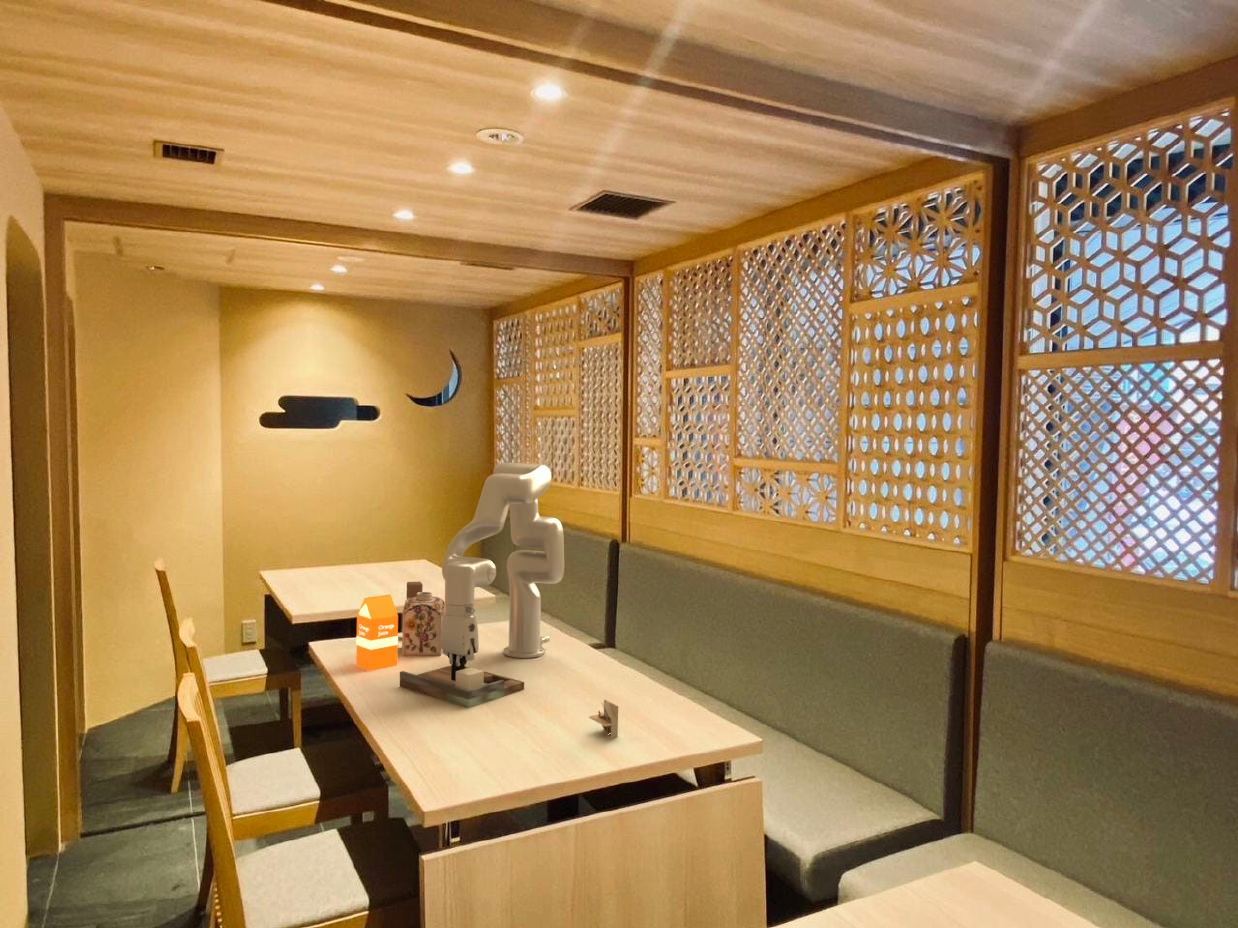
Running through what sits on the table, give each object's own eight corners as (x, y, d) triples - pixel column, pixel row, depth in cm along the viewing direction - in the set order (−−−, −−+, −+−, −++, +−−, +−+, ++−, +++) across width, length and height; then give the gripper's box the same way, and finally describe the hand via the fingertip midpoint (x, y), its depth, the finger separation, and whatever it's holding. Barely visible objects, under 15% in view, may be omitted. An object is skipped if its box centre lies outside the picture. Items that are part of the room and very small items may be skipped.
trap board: (456, 670, 248) (456, 656, 248) (524, 689, 233) (524, 674, 233) (399, 686, 232) (399, 671, 232) (468, 707, 217) (468, 691, 217)
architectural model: (605, 741, 198) (606, 708, 197) (588, 732, 203) (589, 700, 203) (618, 738, 200) (618, 706, 199) (601, 729, 205) (601, 697, 205)
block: (470, 684, 229) (470, 667, 229) (483, 688, 226) (483, 671, 226) (455, 688, 225) (455, 671, 225) (468, 692, 222) (469, 675, 222)
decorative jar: (406, 646, 274) (407, 589, 273) (444, 646, 275) (445, 589, 274) (401, 656, 262) (402, 596, 261) (441, 656, 263) (442, 596, 262)
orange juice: (397, 665, 253) (398, 596, 252) (370, 671, 246) (371, 600, 245) (382, 659, 258) (383, 592, 257) (355, 665, 252) (356, 595, 251)
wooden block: (433, 634, 289) (434, 580, 289) (435, 638, 285) (436, 583, 284) (405, 636, 286) (406, 581, 285) (407, 639, 282) (408, 584, 281)
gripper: (490, 611, 227) (488, 682, 227) (450, 603, 236) (449, 671, 236) (468, 616, 221) (466, 688, 221) (428, 607, 230) (427, 677, 230)
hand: (457, 679), depth 229 cm, fingers closed
